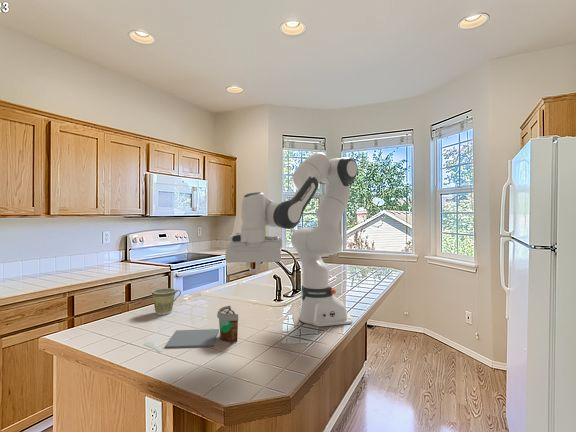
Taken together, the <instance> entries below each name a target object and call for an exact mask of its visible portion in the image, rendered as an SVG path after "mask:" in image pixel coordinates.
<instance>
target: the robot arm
mask: <svg viewBox="0 0 576 432" xmlns="http://www.w3.org/2000/svg"><path fill="white" fill-rule="evenodd" d="M358 169H359V168H358V164H357V162H356V160H355V159H354V158H351V157H347V156H344V157H336V158H329V156H328V155H327V154H325V153H324V152H319V151H317V152H314V153H313V154H311V155H310V156H308V157H307V158H306V159H305V160H303V161H302V162H301V163H300V164H299V165H298V166H297V168H296V169H295V170H294V172H293V174H292V182H293V183H294V185H295V187H296V188H297V190H296V192H295V193H294V194H293V196H292V197H291V198H290V199H288V200H283V201H274V200H272V199H270V198H269V197H267V196H266V195H265V194H264V192H261V191H257V192H249V193H246V194H244V195H243V196H242V197H243V198H242V199H241V200H242V201H241V209H240V210H241V213H240V214H241V215H240V216H241V220H242V223H241V231H240V232H236V233H233V234H231V235H229V237H228V242H229V243H228V244H227V245H226V248H225V255H224V256H225V258H224V259H225V262H226V263H246V265H245V266H246V267H247V269H248V270H249V275H253V276H254V275H256V276H257V275H258V271H259V269H260V267H261V263H279V262H281V260H282V253H281V248H282V246H283V240H282V239H281V237H278V236H267V235H266V234H267V233H266V230H267V229H266V227H269V228H270V227H271V228H280V229H285V230H292V229H294V228H296V227H297V226H298V225H299V223H300V221H301V219H302V216H303V213H304V212H305V210H306V208H307V207H308V205H309V204H310V202H311V200H312V199H313V197H314V196H315V194H316V192H317V191H318V189H319V184H321V185H328V186H327V191H326V192H325V194H324V195H323V197H322V200H321V201H320V203H319V205H318V207H317V209H316V211H315V216H316V219H317V221H318V224H317V226H315V227H301V228H298V229H295V230H294V231H293V232H292V235H291V236H290V237H291V238H290V243H291V245H292V247H293V248H294V249H295V251H296V252H297V254H298V258H299V260H300V264H301V270H302V286H301V294H300V295H301V296H300V297H301V307H300V311H299V317H298V319H299V321H300V322H302V323H304V324H307V325H308V324H309V325H312V326H315V327H328V326H339V325H348V324H352V323H353V317H352V316H351V315H350V314H349V313H348V312H347V308H346V305H345V304H344V302H343V301H341V300H340V299H339V298H338V297H336V296H335V295H336V293H337V290H336V289H335V288H333V287H331V286H330V284H329V281H330V280H329V274H330V273H329V267H328V265H327V264H326V263H325V261H323V258H322V256H333V255H336V254H339V253H340V251H341V250H342V248H343V236H342V234H341V233H340V232H339V225H340V222H341V219H342V217H343V215H344V213H345V210H346V208H347V206H348V203H349V200H350V196H351V188H350V186H351V185H353V184H354V182H355V180H356V177H357V175H358V171H359V170H358ZM321 255H322V256H321ZM251 263H256V268H251Z"/></svg>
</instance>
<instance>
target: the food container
mask: <svg viewBox="0 0 576 432" xmlns="http://www.w3.org/2000/svg"><path fill="white" fill-rule="evenodd" d="M231 307H232V306H231V305H226V306H222V307H220V308H219V309H218V311H217V314H216V315H217V316H216V318H217V319H218V323H219V326H218V327H219V335H220V336H219V338H220V341H223V342H226V343H228V342H229V343H233V342H234V343H235V342H238V333H239V332H238V330H239V329H238V328H239V327H238V326H239V314H238V313H235V311H234V310H233V309H232V308H231Z"/></svg>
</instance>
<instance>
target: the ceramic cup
mask: <svg viewBox="0 0 576 432" xmlns="http://www.w3.org/2000/svg"><path fill="white" fill-rule="evenodd" d="M177 292H179V294H178V295H177V296H176V297H175V295H176V293H177ZM181 295H182V292H181V290H180V289H175V288H169V287H168V288H167V287H165V288H159V289H158V288H157V289H154V290H152V291H151V296H152V300H153V305H154V312H155V314H156V315H158V316H164V315H170V314H171V313H172V311H173V305H174V302H175V301H176V300H177V298H179V297H180V296H181Z"/></svg>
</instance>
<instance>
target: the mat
mask: <svg viewBox="0 0 576 432" xmlns="http://www.w3.org/2000/svg"><path fill="white" fill-rule="evenodd" d="M219 332H220V328H219V329H218V328H215V329H214V328H213V329H212V328H211V329H209V328H208V329H207V328H206V329H178V330H177V329H176V330H175V332H174V333H173V334H172V335H171V337H170V339H169V340H168V341H167V343H166V344H165V345H164V349H174V348H175V349H178V348H180V349H182V348H210V347H211V348H213V347H214V345H215V342H216V340H217V336H218V334H219Z"/></svg>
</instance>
